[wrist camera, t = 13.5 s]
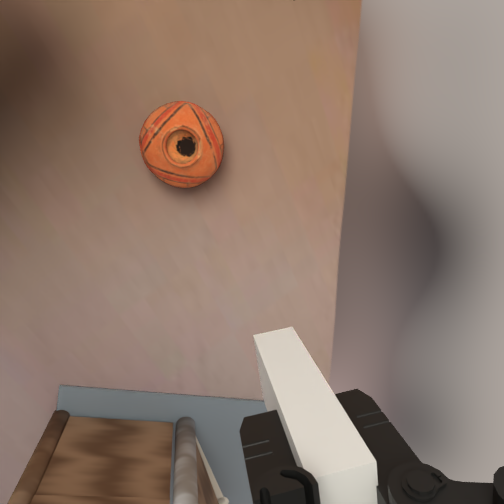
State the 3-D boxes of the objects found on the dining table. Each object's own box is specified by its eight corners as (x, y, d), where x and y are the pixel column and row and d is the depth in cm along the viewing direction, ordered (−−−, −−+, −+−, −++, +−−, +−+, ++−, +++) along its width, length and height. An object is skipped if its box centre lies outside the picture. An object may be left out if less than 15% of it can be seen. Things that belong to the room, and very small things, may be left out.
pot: (231, 113, 40) (237, 125, 34) (209, 183, 43) (210, 205, 37) (154, 85, 38) (146, 92, 32) (136, 160, 41) (126, 180, 35)
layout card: (46, 513, 48) (45, 515, 47) (60, 385, 44) (59, 386, 44) (276, 516, 54) (276, 518, 54) (305, 404, 50) (305, 405, 50)
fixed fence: (52, 424, 45) (-11, 552, 31) (54, 405, 44) (-9, 525, 30) (193, 432, 48) (197, 550, 34) (197, 414, 48) (202, 527, 33)
